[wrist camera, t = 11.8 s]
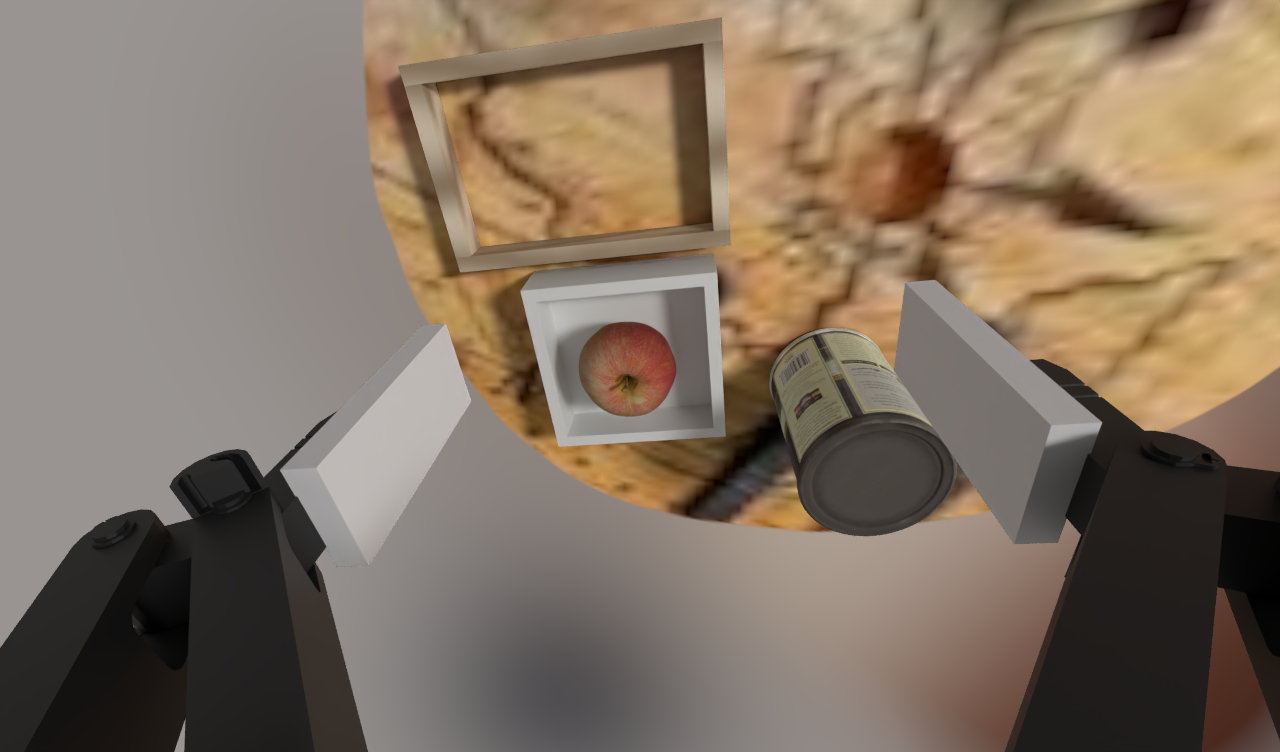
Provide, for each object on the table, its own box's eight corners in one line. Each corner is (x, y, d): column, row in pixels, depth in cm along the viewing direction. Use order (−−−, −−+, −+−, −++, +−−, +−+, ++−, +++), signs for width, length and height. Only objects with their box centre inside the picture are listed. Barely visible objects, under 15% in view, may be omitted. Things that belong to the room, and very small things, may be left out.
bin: (534, 271, 45) (520, 290, 41) (713, 253, 43) (717, 272, 39) (567, 418, 52) (558, 446, 49) (722, 408, 51) (725, 436, 47)
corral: (414, 65, 38) (398, 66, 36) (719, 20, 35) (721, 17, 33) (470, 262, 45) (460, 272, 43) (728, 236, 43) (730, 245, 40)
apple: (604, 290, 45) (590, 332, 38) (691, 326, 46) (693, 373, 39) (573, 366, 49) (555, 417, 42) (654, 398, 50) (650, 452, 43)
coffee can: (860, 433, 51) (917, 548, 39) (755, 413, 51) (779, 523, 39) (906, 337, 46) (987, 436, 34) (789, 315, 46) (829, 407, 34)
